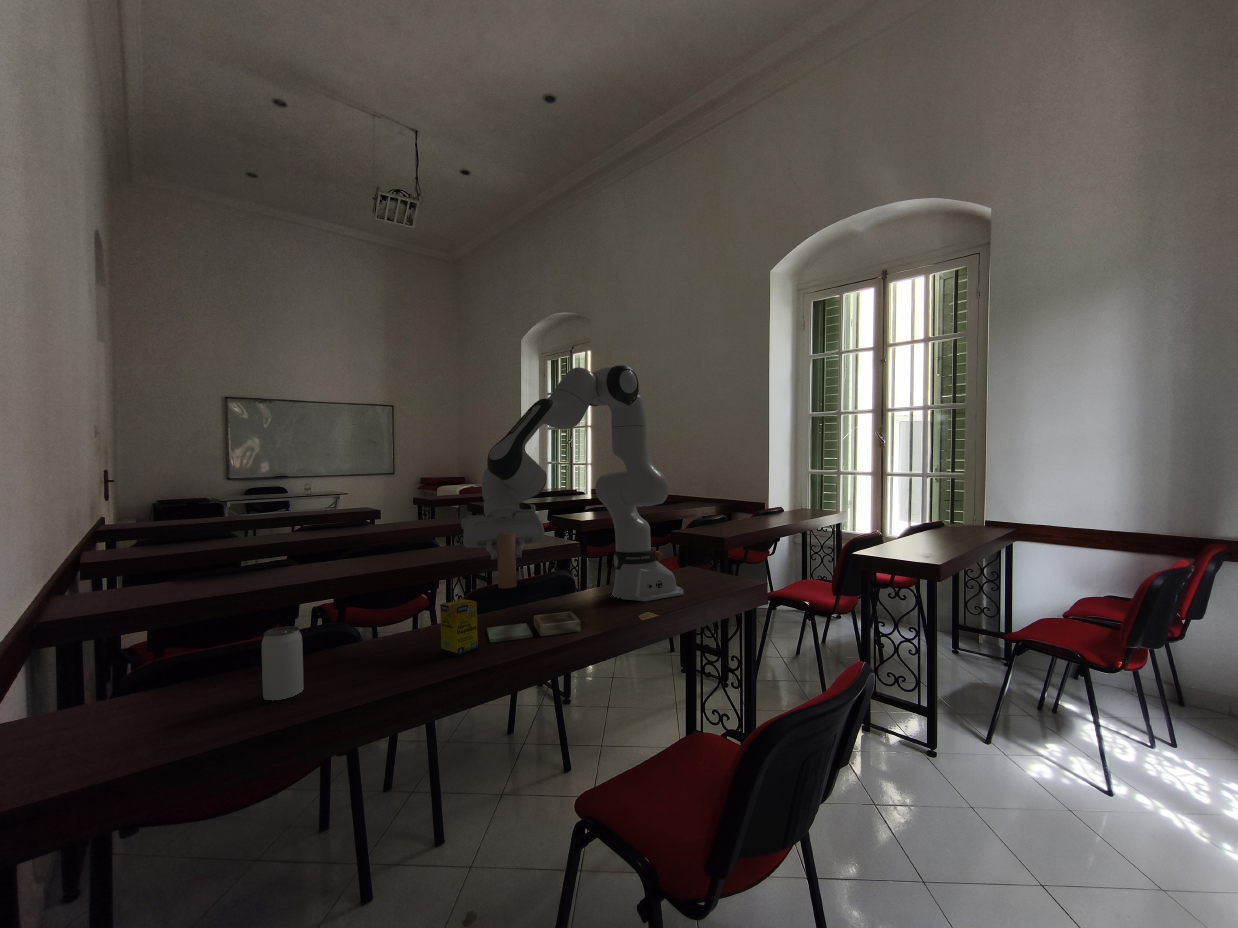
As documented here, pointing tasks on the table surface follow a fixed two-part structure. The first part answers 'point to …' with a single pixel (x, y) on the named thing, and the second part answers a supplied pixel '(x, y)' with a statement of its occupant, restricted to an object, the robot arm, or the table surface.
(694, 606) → the table surface
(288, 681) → the can
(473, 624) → the supplement box
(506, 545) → the terracotta peg
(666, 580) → the robot arm
